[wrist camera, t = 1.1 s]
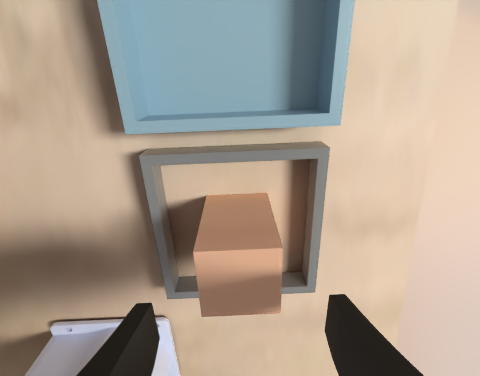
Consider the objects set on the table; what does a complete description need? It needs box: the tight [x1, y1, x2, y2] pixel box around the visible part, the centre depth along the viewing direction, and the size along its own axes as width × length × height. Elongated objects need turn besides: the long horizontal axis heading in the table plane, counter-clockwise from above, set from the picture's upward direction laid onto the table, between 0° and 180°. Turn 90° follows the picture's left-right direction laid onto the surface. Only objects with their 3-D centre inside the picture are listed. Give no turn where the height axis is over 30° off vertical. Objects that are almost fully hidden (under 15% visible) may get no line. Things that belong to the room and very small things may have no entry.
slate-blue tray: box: [97, 0, 355, 134], centre depth 12 cm, size 11×11×3 cm
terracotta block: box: [193, 193, 283, 317], centre depth 15 cm, size 4×4×6 cm
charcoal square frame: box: [139, 142, 330, 299], centre depth 17 cm, size 11×11×2 cm
